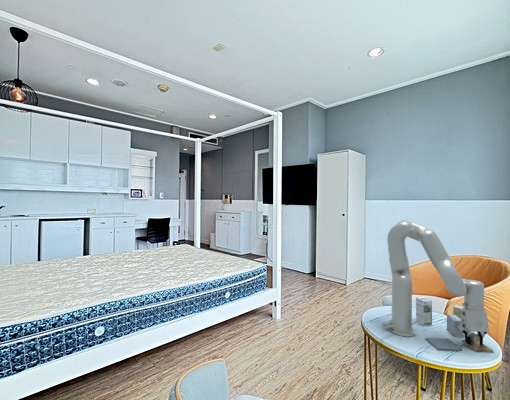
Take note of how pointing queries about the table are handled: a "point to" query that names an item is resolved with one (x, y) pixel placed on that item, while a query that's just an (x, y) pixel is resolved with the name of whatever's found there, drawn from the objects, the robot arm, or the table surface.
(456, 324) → the medicine box
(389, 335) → the table surface
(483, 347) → the stub
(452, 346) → the plate
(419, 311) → the syrup box
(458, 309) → the skincare box
